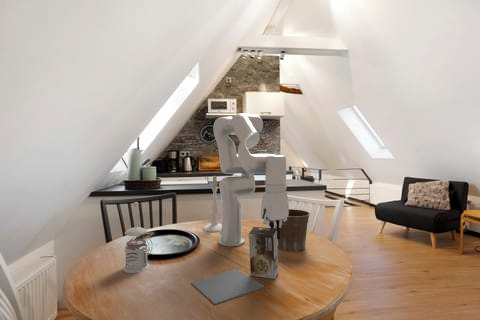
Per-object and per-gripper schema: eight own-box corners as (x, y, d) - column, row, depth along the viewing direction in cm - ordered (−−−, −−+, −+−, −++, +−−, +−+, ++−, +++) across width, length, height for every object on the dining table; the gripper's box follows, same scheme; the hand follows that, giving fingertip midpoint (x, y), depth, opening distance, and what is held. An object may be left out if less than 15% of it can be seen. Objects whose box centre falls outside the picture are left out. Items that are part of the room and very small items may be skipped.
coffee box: (278, 270, 107) (278, 228, 105) (275, 279, 101) (274, 235, 99) (254, 266, 110) (253, 225, 108) (249, 275, 104) (248, 232, 102)
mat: (191, 283, 98) (191, 282, 98) (237, 270, 109) (237, 269, 109) (214, 304, 85) (214, 303, 85) (264, 287, 95) (264, 286, 95)
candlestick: (225, 232, 158) (225, 176, 156) (202, 232, 157) (201, 176, 156) (226, 225, 170) (226, 174, 169) (204, 225, 170) (204, 174, 169)
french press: (135, 260, 118) (134, 199, 116) (159, 265, 113) (158, 201, 112) (116, 270, 108) (115, 203, 107) (142, 275, 104) (141, 205, 103)
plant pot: (279, 239, 145) (280, 207, 144) (312, 244, 138) (313, 210, 137) (268, 250, 130) (268, 214, 129) (304, 256, 123) (305, 218, 122)
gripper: (283, 186, 114) (283, 232, 115) (253, 189, 106) (253, 239, 107) (297, 188, 108) (297, 237, 109) (266, 191, 100) (266, 244, 100)
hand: (275, 238), depth 108 cm, fingers closed
